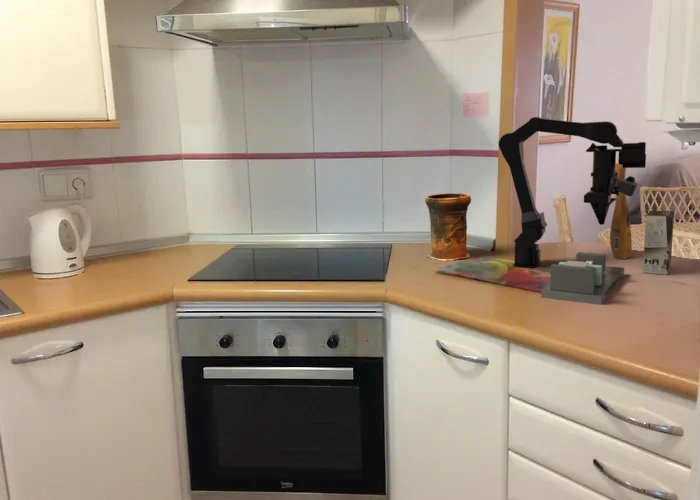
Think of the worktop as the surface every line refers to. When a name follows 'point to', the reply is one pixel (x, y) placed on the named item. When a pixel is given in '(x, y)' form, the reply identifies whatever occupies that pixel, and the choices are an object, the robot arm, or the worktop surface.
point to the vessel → (448, 225)
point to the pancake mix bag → (621, 224)
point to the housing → (577, 263)
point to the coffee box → (658, 242)
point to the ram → (593, 263)
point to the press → (581, 283)
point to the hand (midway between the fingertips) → (601, 224)
